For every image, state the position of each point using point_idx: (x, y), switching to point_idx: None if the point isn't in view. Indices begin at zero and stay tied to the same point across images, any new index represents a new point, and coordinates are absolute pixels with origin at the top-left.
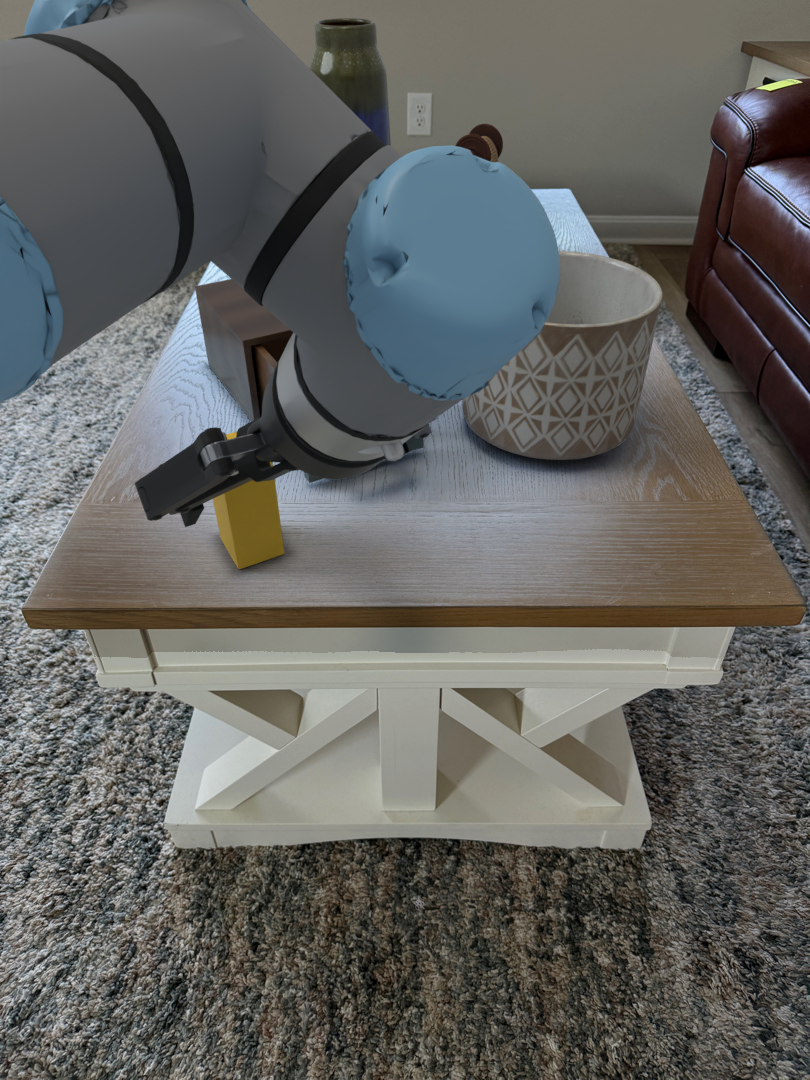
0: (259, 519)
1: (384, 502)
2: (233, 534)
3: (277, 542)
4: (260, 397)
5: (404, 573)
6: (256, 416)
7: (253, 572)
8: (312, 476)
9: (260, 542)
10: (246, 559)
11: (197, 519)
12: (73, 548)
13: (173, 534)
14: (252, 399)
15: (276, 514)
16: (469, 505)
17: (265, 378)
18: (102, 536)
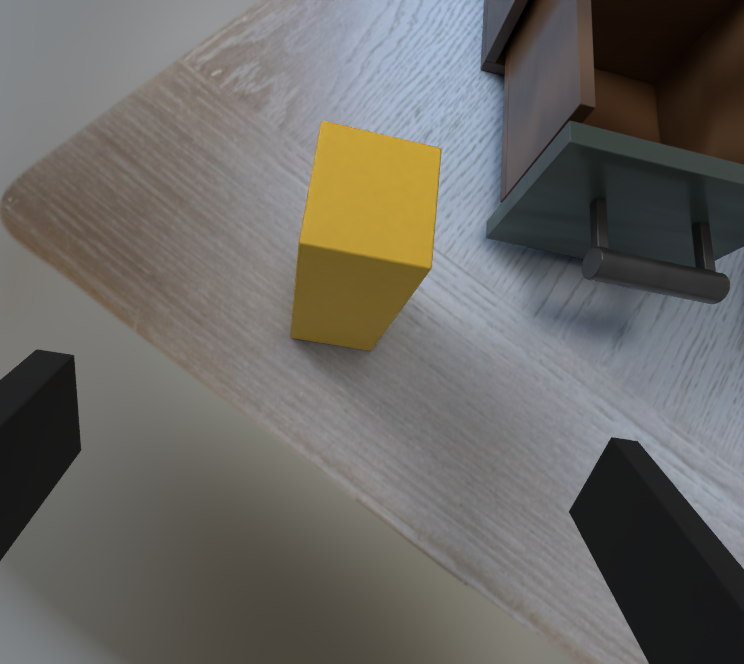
0: (350, 317)
1: (563, 342)
2: (294, 313)
3: (366, 341)
4: (518, 28)
5: (509, 514)
6: (492, 55)
7: (307, 357)
8: (496, 234)
9: (338, 332)
10: (307, 335)
11: (28, 519)
12: (103, 130)
13: (249, 200)
14: (504, 26)
15: (384, 324)
16: (674, 434)
17: (547, 6)
18: (155, 135)
